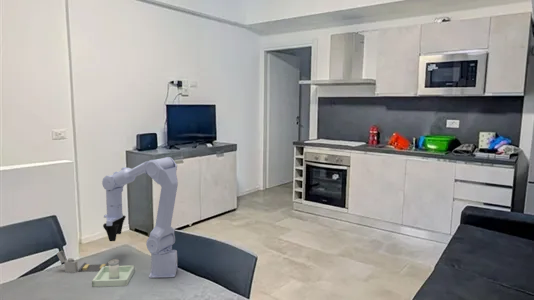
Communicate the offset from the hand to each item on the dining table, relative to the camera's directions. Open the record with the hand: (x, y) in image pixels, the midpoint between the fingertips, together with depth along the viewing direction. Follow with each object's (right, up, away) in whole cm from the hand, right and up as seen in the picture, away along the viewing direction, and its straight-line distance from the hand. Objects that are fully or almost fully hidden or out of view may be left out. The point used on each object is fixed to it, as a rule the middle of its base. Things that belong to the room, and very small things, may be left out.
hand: (115, 237), depth 148 cm
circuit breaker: (-14, -11, -9) cm, 20 cm away
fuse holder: (-5, -11, -6) cm, 14 cm away
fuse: (+5, -12, -14) cm, 19 cm away
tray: (+5, -12, -14) cm, 19 cm away
